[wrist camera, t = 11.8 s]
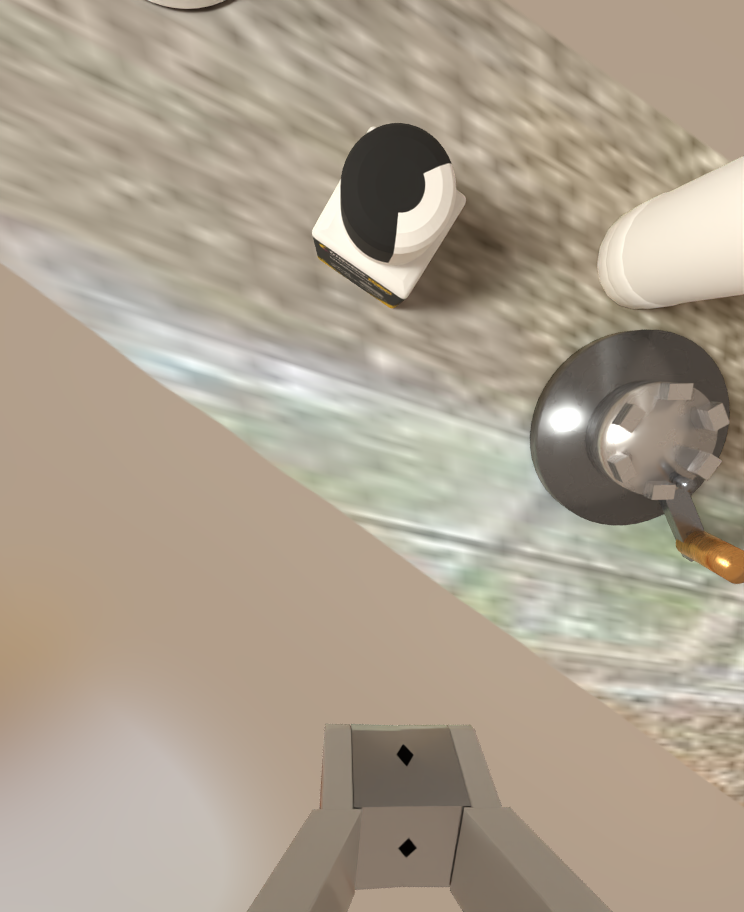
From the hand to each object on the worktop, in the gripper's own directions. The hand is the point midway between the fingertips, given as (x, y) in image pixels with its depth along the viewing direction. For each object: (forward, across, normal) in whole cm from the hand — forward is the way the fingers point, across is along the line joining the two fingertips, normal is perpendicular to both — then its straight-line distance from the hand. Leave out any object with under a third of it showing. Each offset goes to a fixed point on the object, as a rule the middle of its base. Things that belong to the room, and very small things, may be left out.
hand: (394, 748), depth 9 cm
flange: (+29, -24, -3) cm, 38 cm away
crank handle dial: (+27, -26, 0) cm, 38 cm away
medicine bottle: (+29, -1, -16) cm, 33 cm away
